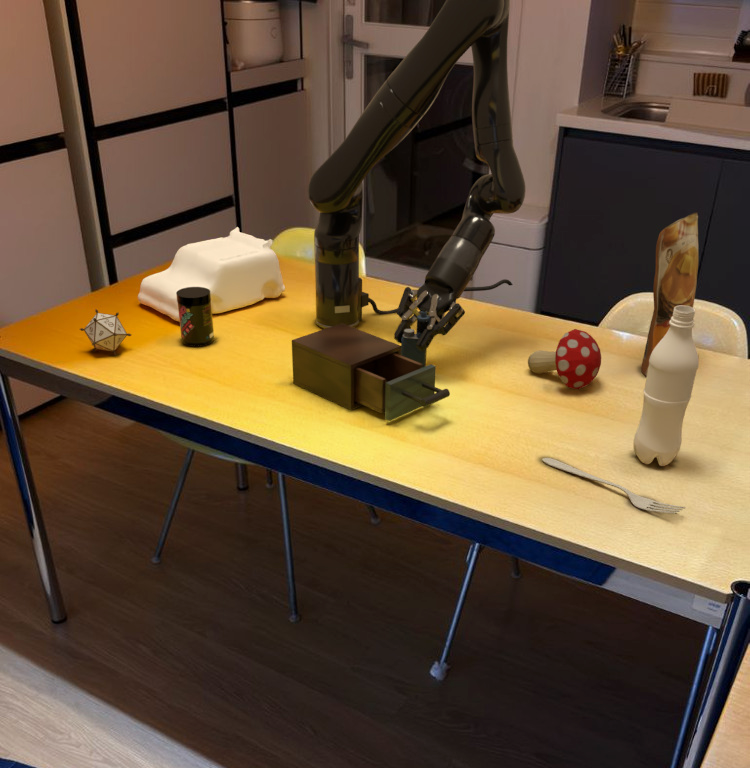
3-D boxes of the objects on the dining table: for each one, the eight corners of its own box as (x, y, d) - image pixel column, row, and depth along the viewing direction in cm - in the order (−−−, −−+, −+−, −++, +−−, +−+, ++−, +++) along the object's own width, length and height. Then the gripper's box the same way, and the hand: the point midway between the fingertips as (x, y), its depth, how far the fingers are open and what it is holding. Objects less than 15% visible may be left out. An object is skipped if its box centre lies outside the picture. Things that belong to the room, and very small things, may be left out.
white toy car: (291, 297, 205) (289, 239, 198) (180, 327, 187) (173, 265, 180) (243, 277, 216) (239, 222, 209) (134, 304, 199) (126, 245, 192)
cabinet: (400, 389, 162) (401, 345, 158) (350, 410, 155) (350, 365, 150) (342, 364, 172) (342, 322, 167) (293, 383, 164) (291, 340, 160)
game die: (120, 366, 179) (146, 327, 176) (95, 366, 171) (122, 326, 168) (90, 337, 180) (115, 298, 177) (63, 337, 172) (89, 296, 169)
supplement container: (186, 334, 184) (181, 286, 179) (218, 335, 184) (213, 287, 178) (177, 346, 178) (172, 297, 173) (210, 348, 178) (206, 298, 172)
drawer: (458, 411, 153) (461, 375, 149) (414, 432, 146) (415, 395, 142) (376, 376, 165) (377, 342, 161) (331, 394, 158) (331, 359, 154)
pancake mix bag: (621, 371, 171) (646, 225, 156) (669, 345, 182) (697, 207, 167) (652, 382, 167) (681, 233, 152) (699, 354, 178) (731, 214, 164)
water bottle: (624, 448, 144) (652, 301, 131) (667, 447, 145) (698, 300, 131) (639, 470, 138) (669, 318, 125) (683, 468, 139) (718, 317, 125)
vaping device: (426, 375, 166) (429, 314, 160) (399, 372, 167) (401, 312, 161) (428, 369, 169) (431, 310, 162) (401, 367, 169) (403, 307, 163)
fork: (549, 455, 142) (550, 446, 141) (684, 516, 127) (687, 506, 126) (536, 462, 140) (538, 452, 139) (673, 524, 125) (675, 514, 124)
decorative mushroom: (517, 325, 167) (584, 318, 156) (551, 344, 175) (617, 338, 163) (507, 381, 166) (573, 378, 155) (541, 398, 173) (607, 396, 162)
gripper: (491, 287, 163) (445, 365, 162) (434, 269, 172) (389, 343, 171) (475, 265, 157) (427, 346, 156) (416, 248, 166) (370, 324, 165)
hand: (408, 344), depth 164 cm, fingers closed on vaping device, 5 cm apart
